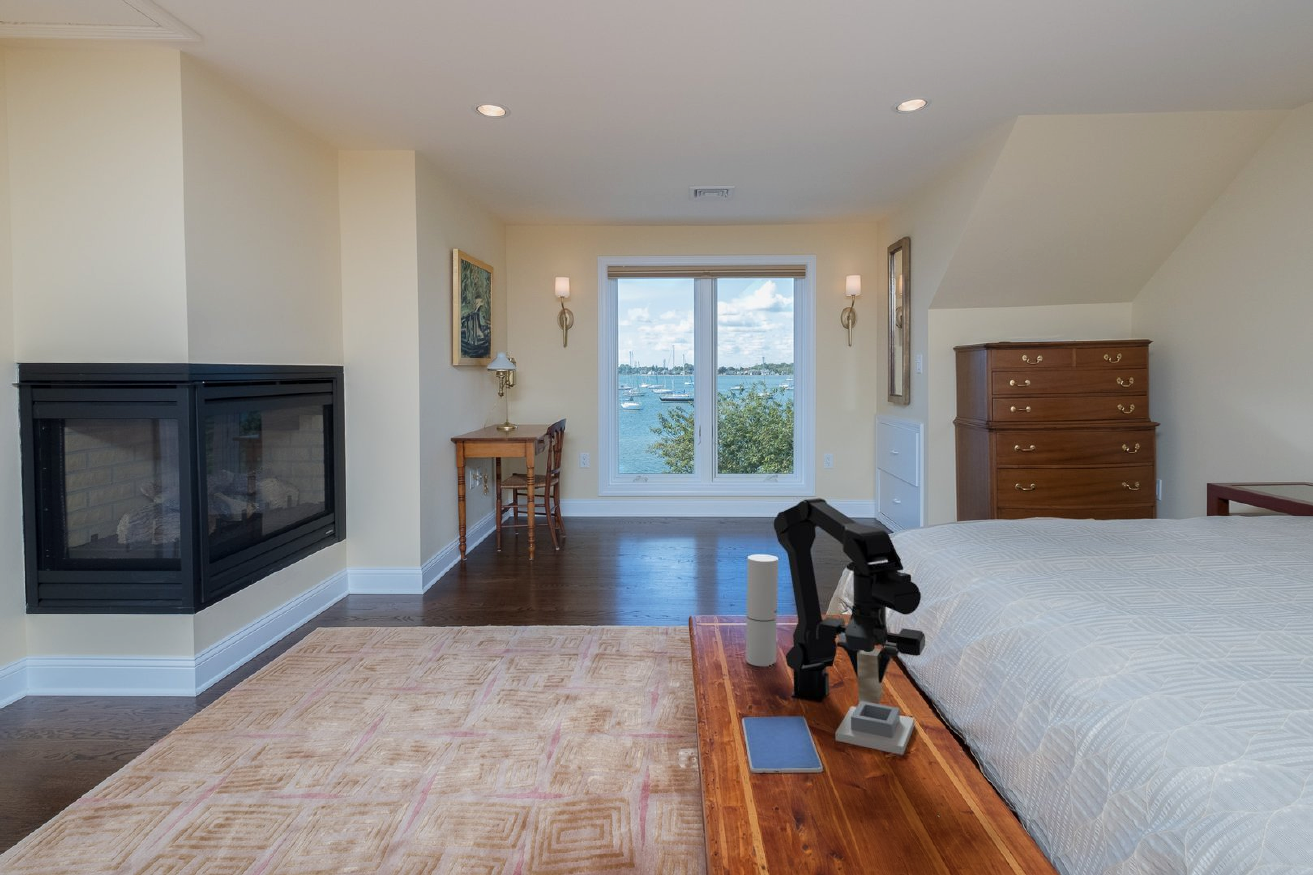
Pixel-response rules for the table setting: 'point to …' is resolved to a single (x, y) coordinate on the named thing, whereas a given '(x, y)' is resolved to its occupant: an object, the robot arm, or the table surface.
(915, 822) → the table surface
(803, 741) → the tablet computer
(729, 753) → the table surface
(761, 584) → the cylindrical container
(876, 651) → the peg
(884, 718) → the socket board
